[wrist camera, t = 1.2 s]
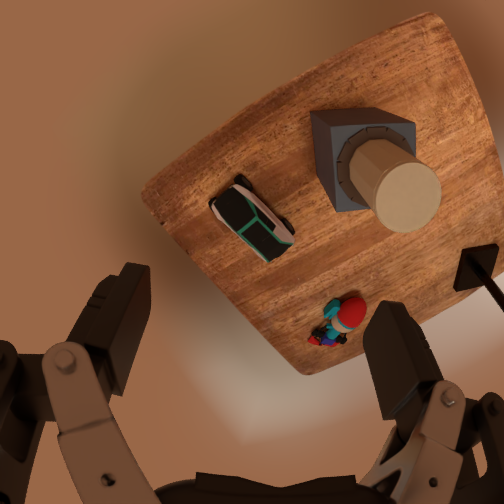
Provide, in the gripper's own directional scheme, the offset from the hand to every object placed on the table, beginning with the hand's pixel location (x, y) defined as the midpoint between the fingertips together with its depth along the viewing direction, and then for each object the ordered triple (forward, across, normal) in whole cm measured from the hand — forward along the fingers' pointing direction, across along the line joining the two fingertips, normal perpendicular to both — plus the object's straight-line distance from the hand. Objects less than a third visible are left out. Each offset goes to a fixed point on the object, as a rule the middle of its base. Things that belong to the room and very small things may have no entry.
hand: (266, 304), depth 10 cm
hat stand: (+33, -45, +14) cm, 58 cm away
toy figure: (+33, -20, +30) cm, 49 cm away
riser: (+33, -12, -1) cm, 35 cm away
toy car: (+33, -1, +12) cm, 35 cm away
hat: (+21, -12, -1) cm, 24 cm away
